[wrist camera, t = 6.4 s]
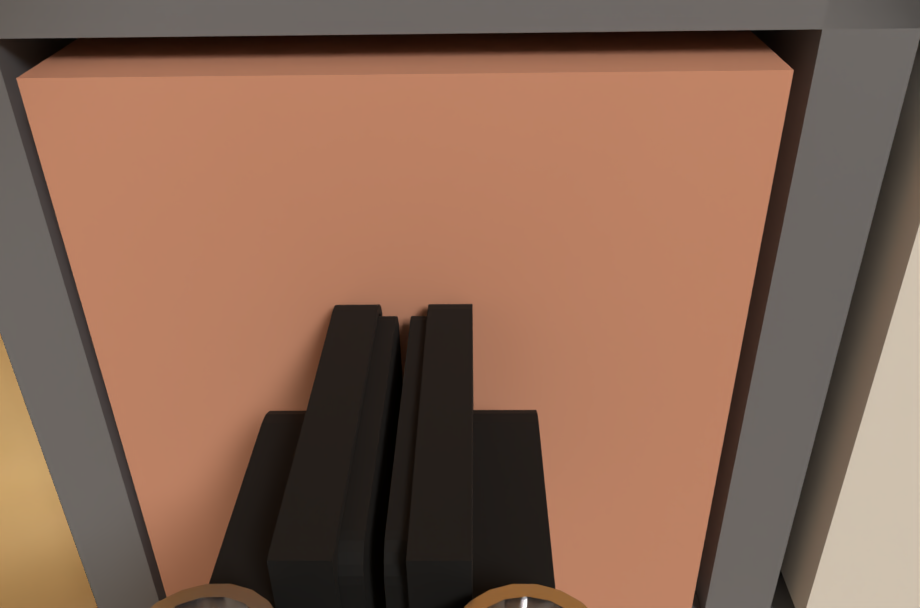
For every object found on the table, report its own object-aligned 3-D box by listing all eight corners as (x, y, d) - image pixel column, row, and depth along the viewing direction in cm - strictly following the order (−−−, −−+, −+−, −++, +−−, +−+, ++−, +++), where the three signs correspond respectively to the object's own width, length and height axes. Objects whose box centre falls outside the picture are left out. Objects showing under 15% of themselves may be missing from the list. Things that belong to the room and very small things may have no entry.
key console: (1163, 467, 17) (1356, 661, 14) (192, 467, 18) (115, 655, 14) (1495, -136, 12) (1993, -96, 8) (53, -114, 12) (-142, -66, 8)
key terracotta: (658, 504, 15) (687, 625, 13) (216, 504, 15) (174, 623, 13) (729, 12, 11) (793, 69, 8) (107, 19, 11) (17, 78, 9)
